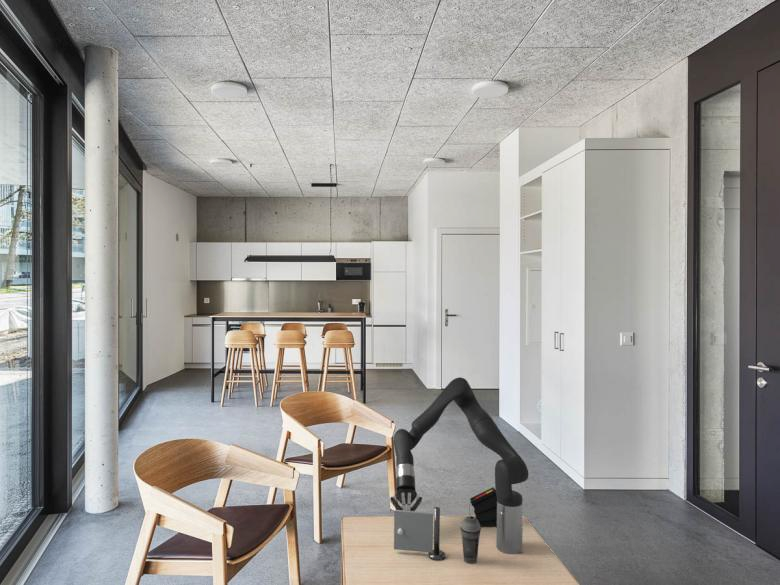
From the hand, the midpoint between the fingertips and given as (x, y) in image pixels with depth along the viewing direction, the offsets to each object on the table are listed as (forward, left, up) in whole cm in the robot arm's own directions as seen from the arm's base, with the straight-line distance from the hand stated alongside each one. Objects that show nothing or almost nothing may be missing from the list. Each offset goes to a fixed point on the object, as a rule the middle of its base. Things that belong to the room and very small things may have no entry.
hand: (406, 522), depth 211 cm
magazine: (-30, -21, -8) cm, 38 cm away
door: (-3, +8, -7) cm, 11 cm away
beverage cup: (-24, +9, -8) cm, 27 cm away
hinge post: (-12, +8, -8) cm, 16 cm away
